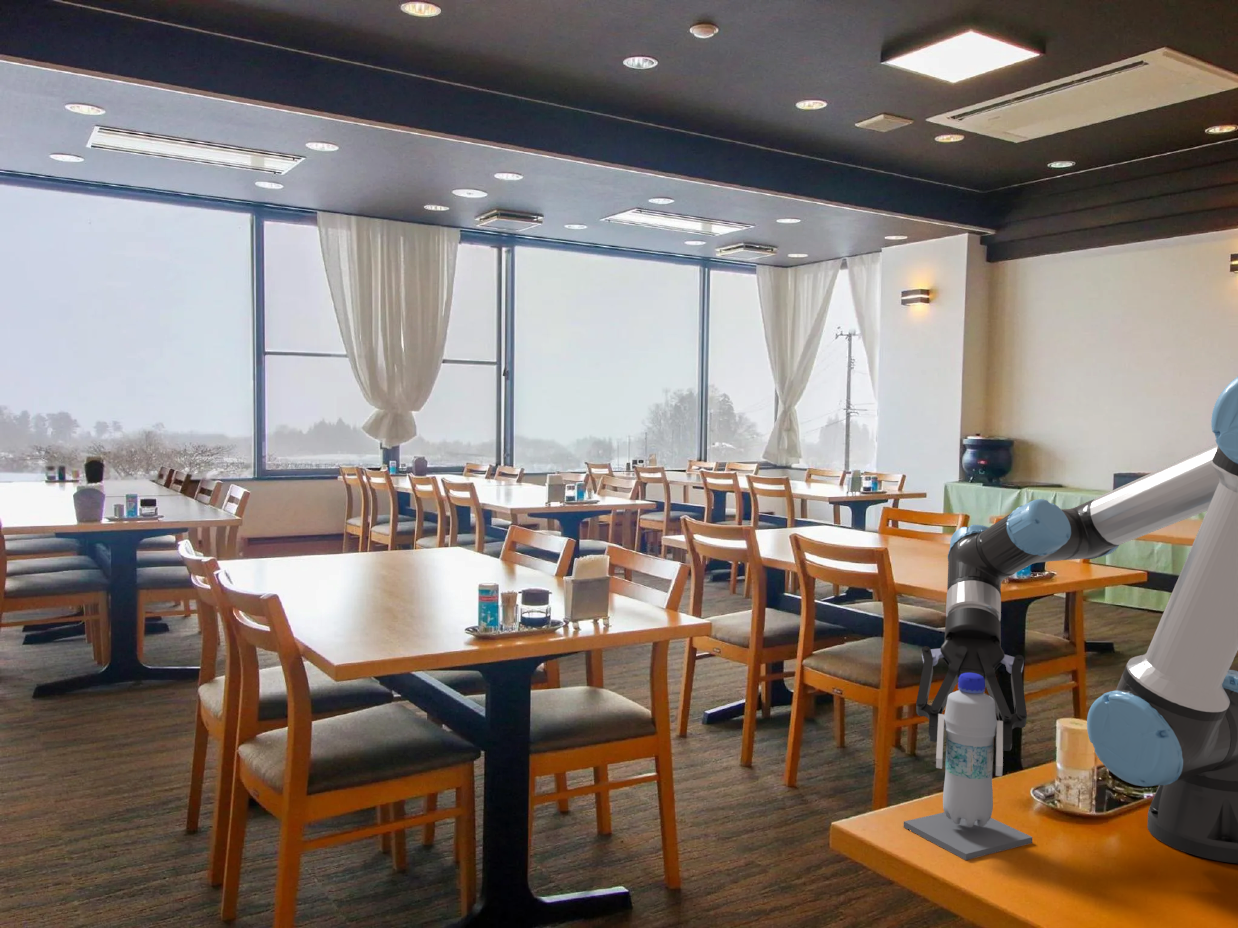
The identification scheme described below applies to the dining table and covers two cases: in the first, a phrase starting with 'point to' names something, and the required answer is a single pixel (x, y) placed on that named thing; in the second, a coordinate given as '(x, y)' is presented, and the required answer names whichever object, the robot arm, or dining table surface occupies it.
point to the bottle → (969, 752)
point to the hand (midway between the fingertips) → (968, 766)
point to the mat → (967, 835)
